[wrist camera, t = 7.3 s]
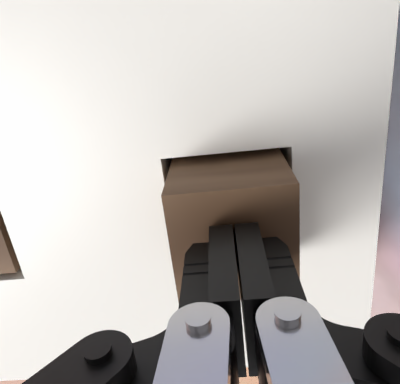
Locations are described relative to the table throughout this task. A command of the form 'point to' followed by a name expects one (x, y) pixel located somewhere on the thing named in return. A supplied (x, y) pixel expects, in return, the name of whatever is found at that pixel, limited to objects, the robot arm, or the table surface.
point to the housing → (178, 150)
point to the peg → (230, 200)
